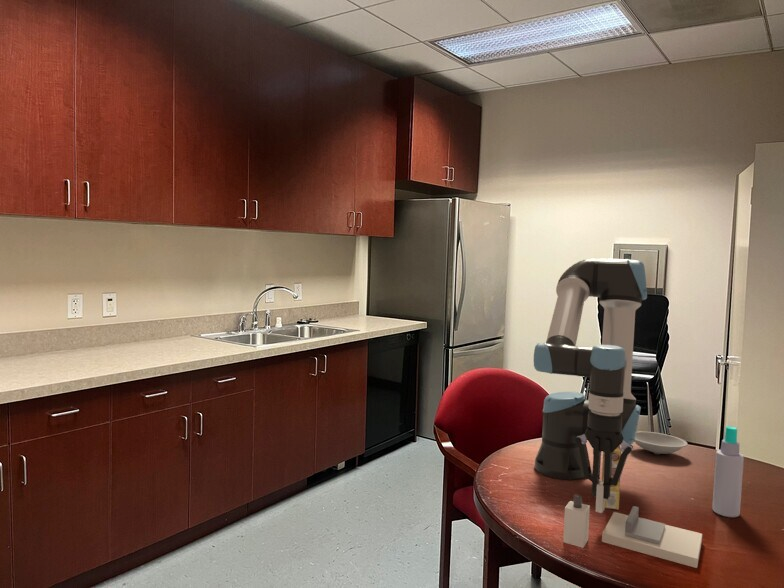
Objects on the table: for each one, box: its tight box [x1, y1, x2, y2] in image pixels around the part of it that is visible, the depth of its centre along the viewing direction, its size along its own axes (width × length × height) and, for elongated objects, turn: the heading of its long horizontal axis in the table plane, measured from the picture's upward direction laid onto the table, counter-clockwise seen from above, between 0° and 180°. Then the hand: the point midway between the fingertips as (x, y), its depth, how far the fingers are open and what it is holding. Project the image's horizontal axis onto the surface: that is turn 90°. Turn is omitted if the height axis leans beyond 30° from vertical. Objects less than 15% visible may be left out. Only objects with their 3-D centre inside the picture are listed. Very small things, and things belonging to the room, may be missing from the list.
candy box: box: [601, 445, 622, 510], centre depth 149 cm, size 9×4×15 cm, turn 162°
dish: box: [634, 431, 688, 455], centre depth 188 cm, size 18×14×5 cm
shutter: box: [625, 505, 666, 544], centre depth 129 cm, size 7×10×3 cm
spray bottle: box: [711, 425, 745, 518], centre depth 144 cm, size 6×6×22 cm
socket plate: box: [601, 511, 703, 569], centre depth 129 cm, size 19×13×2 cm
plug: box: [562, 494, 591, 549], centre depth 128 cm, size 4×4×10 cm
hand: (600, 510), depth 134 cm, fingers closed
